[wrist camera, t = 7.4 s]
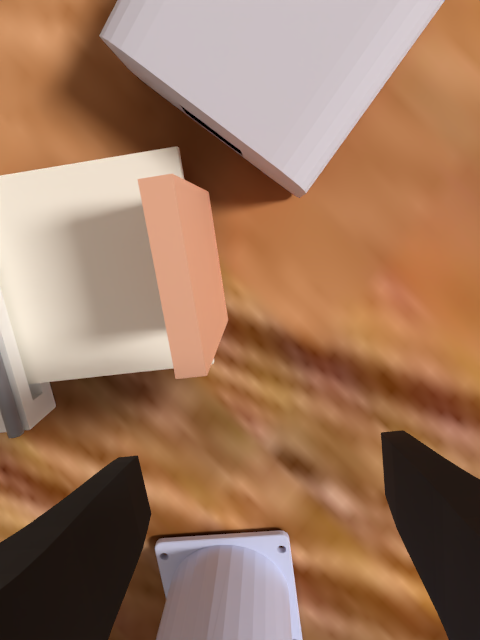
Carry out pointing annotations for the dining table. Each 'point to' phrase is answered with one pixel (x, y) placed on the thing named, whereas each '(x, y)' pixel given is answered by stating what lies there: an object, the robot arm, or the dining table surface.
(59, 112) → the dining table surface
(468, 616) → the robot arm
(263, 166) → the charger
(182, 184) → the cream boxy piece
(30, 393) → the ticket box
